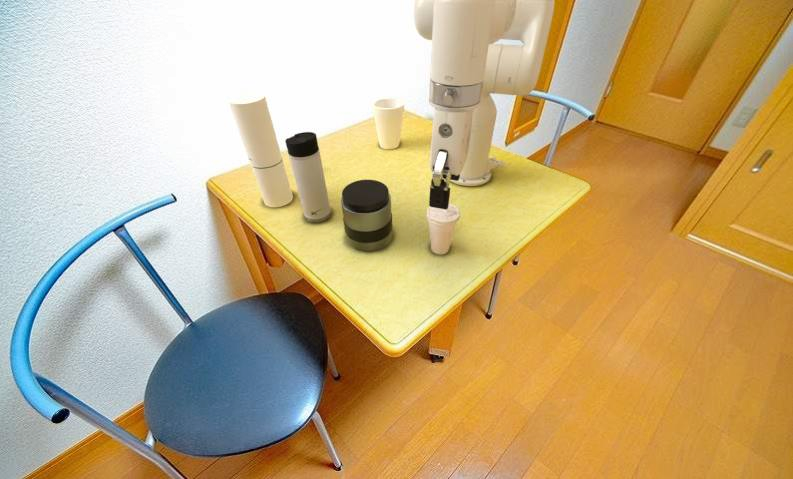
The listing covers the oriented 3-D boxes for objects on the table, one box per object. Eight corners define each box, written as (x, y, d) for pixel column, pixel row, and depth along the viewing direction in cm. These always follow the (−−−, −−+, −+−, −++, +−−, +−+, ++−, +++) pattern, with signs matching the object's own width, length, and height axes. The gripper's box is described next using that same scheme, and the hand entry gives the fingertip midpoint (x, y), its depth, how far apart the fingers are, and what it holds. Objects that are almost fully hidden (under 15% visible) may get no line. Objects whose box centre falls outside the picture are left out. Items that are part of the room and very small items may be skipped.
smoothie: (454, 261, 65) (462, 204, 56) (422, 256, 66) (425, 200, 57) (456, 240, 70) (464, 184, 61) (426, 236, 71) (430, 181, 62)
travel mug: (320, 226, 74) (301, 145, 61) (299, 217, 77) (277, 137, 63) (337, 212, 78) (323, 132, 65) (317, 204, 81) (299, 126, 67)
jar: (388, 218, 76) (386, 175, 68) (396, 248, 68) (395, 203, 61) (344, 224, 75) (337, 181, 67) (348, 255, 67) (340, 210, 59)
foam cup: (378, 137, 109) (375, 97, 100) (405, 138, 108) (405, 98, 99) (372, 150, 102) (369, 108, 93) (401, 152, 101) (401, 109, 92)
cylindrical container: (283, 188, 86) (254, 89, 70) (298, 198, 83) (271, 97, 66) (259, 199, 83) (221, 98, 66) (272, 211, 79) (237, 106, 62)
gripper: (471, 116, 40) (456, 224, 51) (488, 78, 52) (473, 172, 64) (413, 109, 42) (410, 215, 53) (443, 74, 54) (436, 167, 65)
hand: (444, 192), depth 58 cm, fingers open, 9 cm apart
